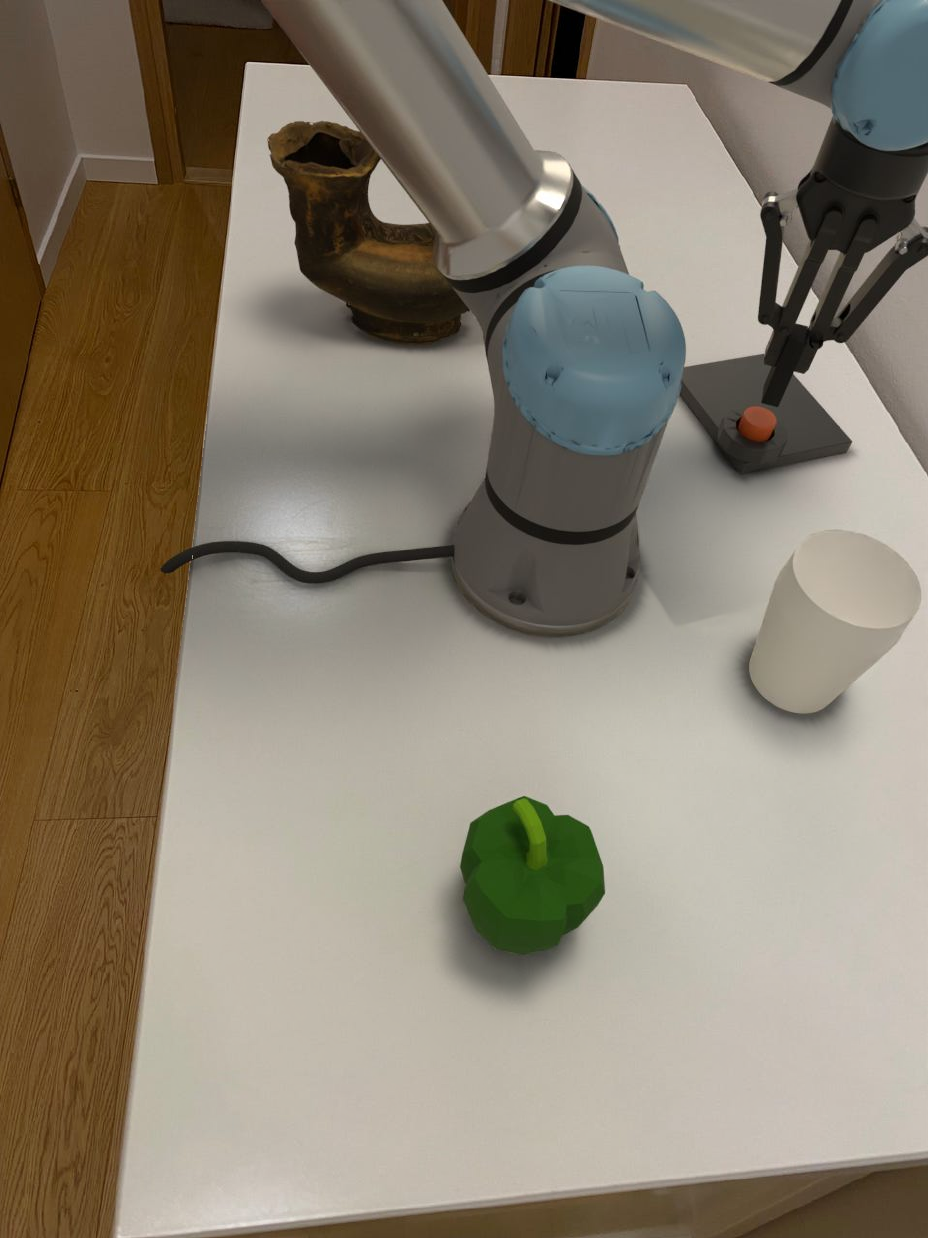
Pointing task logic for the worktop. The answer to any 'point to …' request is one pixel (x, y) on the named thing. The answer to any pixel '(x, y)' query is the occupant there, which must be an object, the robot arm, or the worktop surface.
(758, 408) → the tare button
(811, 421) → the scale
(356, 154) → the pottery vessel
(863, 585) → the cup
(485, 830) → the bell pepper
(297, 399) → the worktop surface
